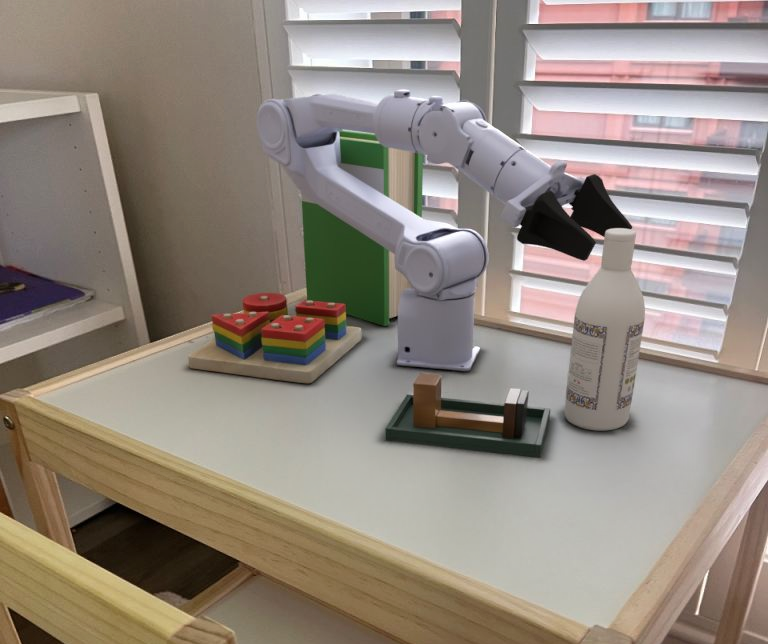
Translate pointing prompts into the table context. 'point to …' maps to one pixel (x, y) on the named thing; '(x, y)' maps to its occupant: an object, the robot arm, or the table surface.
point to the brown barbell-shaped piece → (431, 414)
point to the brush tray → (466, 438)
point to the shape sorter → (277, 339)
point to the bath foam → (606, 340)
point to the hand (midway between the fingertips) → (608, 243)
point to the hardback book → (351, 247)
